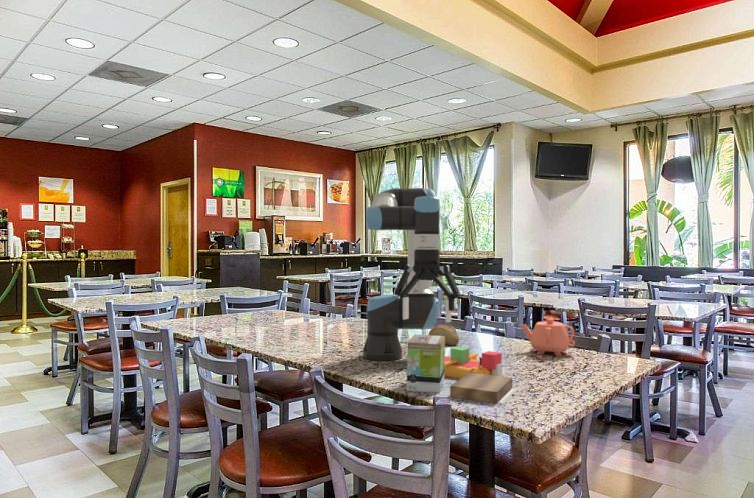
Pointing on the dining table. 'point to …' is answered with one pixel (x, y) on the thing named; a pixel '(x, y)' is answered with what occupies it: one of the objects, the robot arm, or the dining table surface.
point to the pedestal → (481, 387)
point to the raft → (472, 363)
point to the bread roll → (446, 334)
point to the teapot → (549, 337)
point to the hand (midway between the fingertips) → (426, 320)
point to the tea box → (426, 363)
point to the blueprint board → (502, 401)
